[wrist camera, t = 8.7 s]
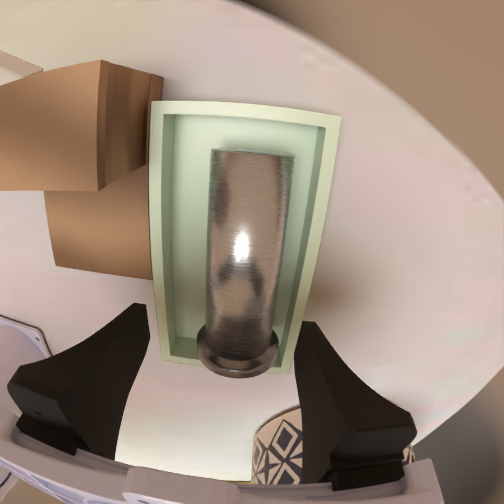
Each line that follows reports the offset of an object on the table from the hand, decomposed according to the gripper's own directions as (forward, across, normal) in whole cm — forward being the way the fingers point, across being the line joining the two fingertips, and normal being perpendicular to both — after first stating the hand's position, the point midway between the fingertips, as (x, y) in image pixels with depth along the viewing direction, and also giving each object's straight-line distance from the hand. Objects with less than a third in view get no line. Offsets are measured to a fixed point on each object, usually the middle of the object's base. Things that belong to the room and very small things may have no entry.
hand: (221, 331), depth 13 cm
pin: (+5, 0, -2) cm, 5 cm away
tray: (+5, 0, -2) cm, 6 cm away
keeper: (+5, +8, -5) cm, 11 cm away
